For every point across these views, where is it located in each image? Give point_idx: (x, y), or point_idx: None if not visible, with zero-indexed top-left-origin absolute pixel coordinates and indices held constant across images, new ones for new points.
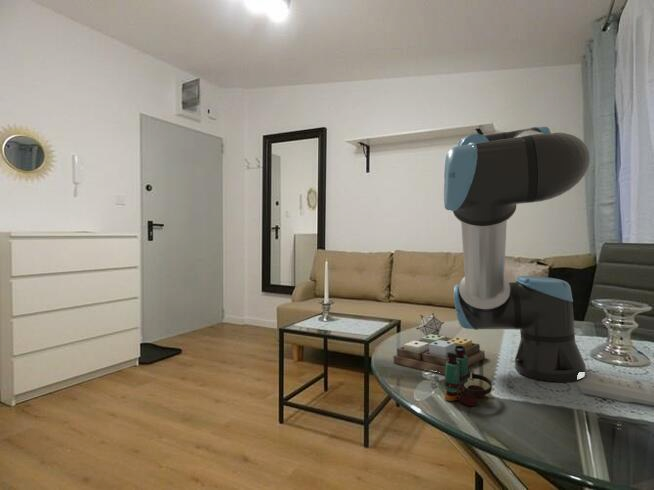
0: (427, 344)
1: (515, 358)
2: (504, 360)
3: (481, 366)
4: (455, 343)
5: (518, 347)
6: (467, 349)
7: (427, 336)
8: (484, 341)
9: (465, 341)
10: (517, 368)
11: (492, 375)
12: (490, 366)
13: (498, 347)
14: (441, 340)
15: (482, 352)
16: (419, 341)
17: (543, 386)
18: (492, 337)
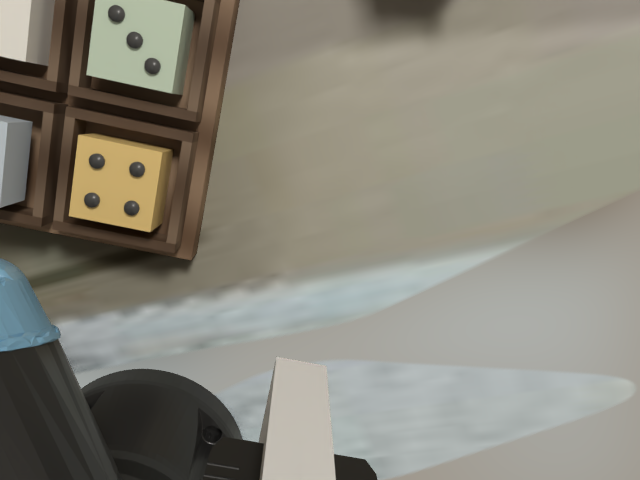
0: (16, 59)
1: (106, 390)
2: (198, 320)
3: (96, 267)
4: (1, 206)
5: (100, 421)
6: (73, 232)
7: (119, 12)
8: (428, 191)
9: (114, 214)
10: (83, 389)
11: None
12: (111, 294)
13: (355, 265)
14: (4, 136)
15: (176, 256)
16: (29, 5)
17: None
18: (505, 206)
